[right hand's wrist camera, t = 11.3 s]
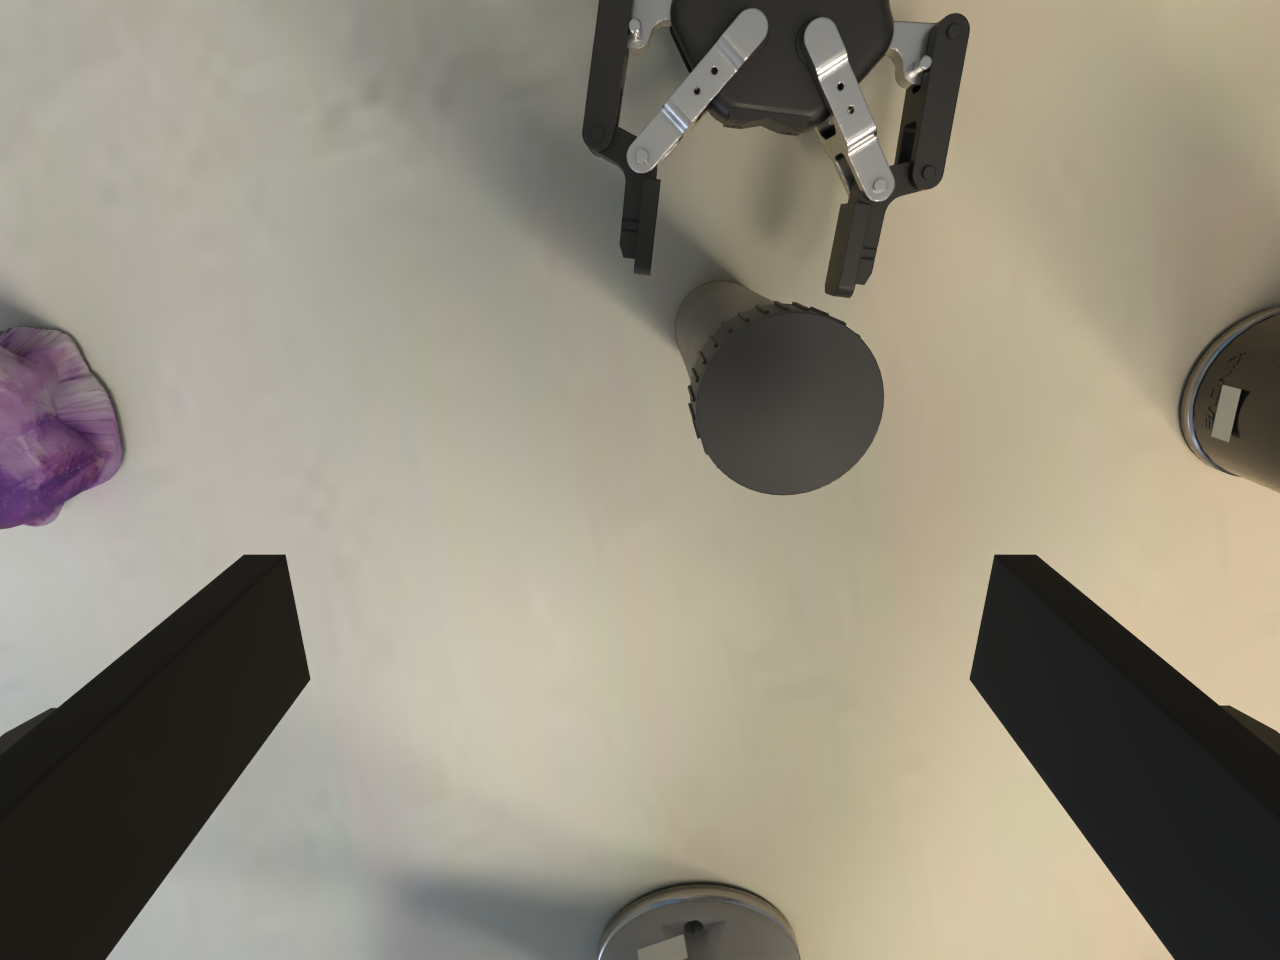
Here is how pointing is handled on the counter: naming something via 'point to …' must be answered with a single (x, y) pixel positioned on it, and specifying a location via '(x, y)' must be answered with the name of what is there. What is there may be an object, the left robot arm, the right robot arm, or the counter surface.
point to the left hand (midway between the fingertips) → (739, 284)
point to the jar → (710, 314)
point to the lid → (785, 398)
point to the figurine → (50, 426)
